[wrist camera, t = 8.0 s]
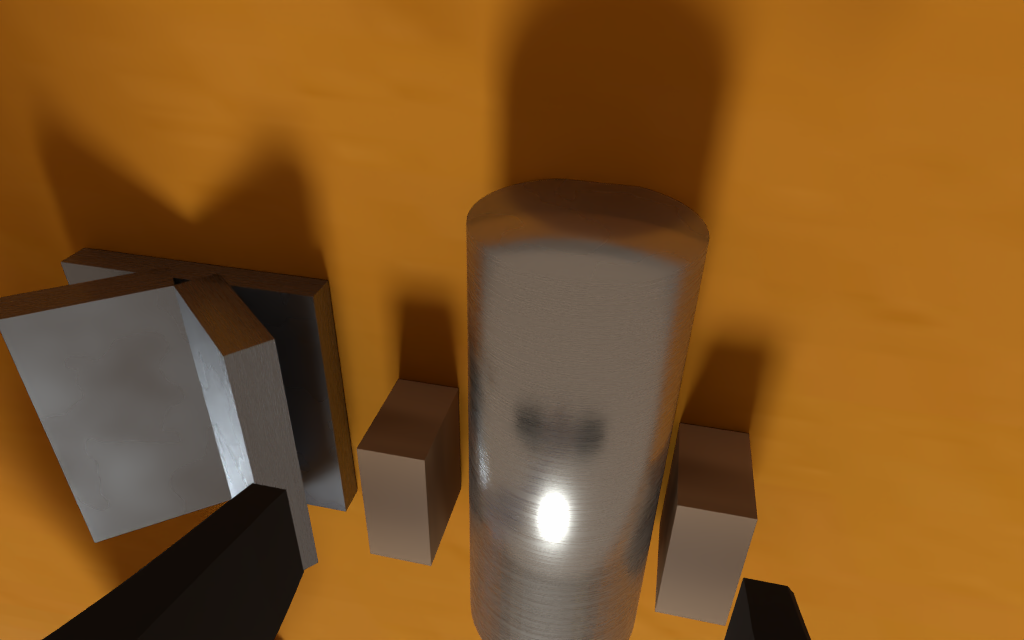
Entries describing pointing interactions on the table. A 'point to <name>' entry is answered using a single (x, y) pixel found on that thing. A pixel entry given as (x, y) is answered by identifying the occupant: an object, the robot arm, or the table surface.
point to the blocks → (684, 522)
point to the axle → (572, 398)
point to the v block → (184, 388)
